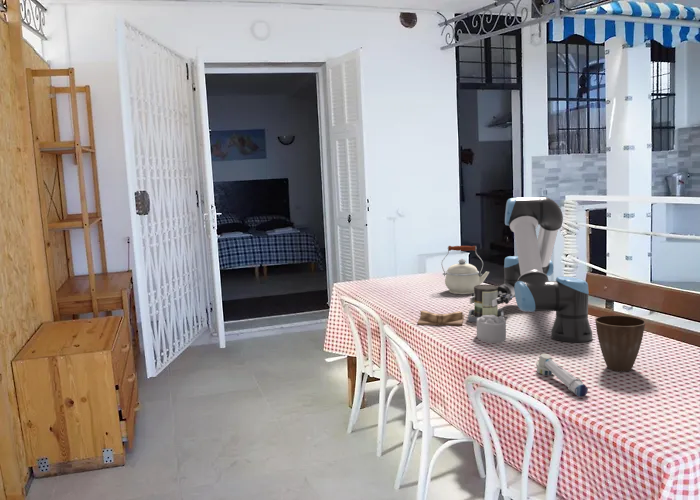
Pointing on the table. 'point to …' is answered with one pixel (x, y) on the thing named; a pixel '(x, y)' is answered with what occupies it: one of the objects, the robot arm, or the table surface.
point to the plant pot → (620, 340)
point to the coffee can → (485, 300)
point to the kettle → (463, 274)
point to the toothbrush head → (560, 375)
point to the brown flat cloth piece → (441, 318)
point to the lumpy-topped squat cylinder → (491, 329)
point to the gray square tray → (474, 319)
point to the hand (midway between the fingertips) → (481, 302)
